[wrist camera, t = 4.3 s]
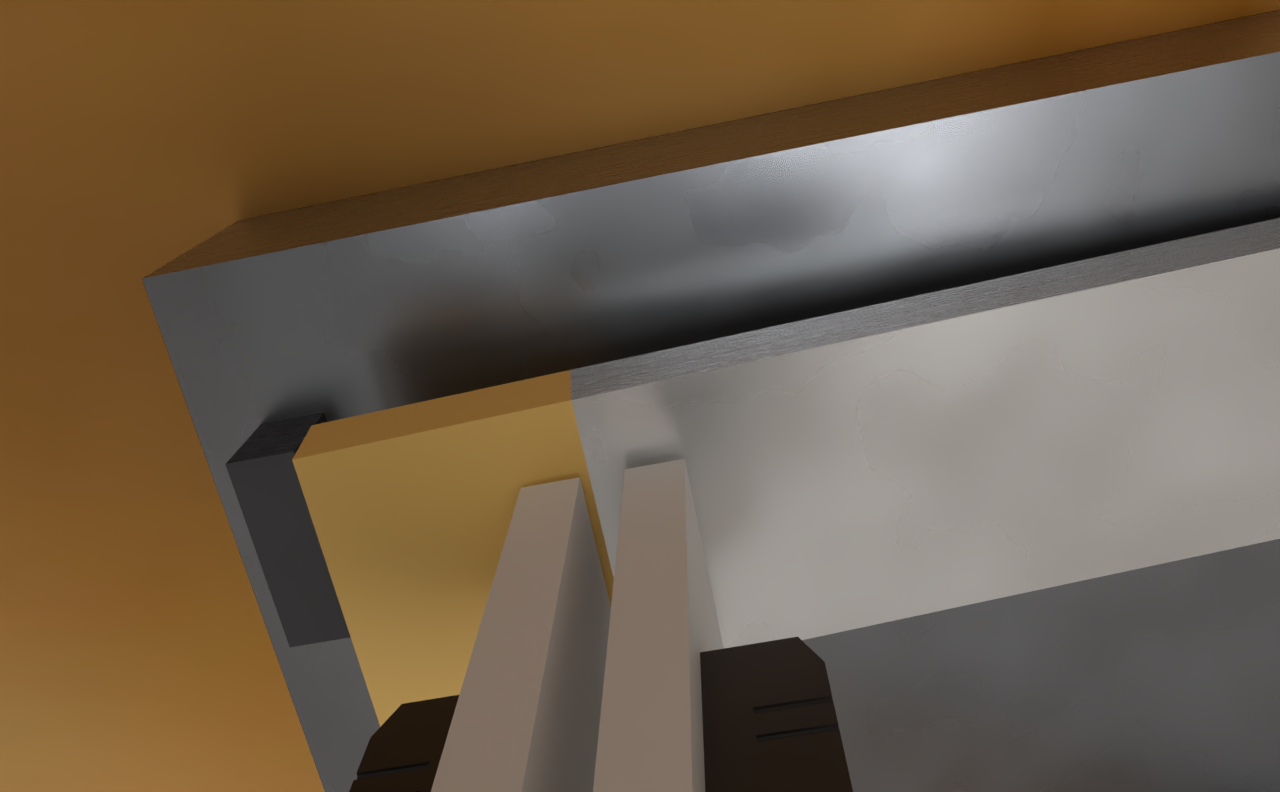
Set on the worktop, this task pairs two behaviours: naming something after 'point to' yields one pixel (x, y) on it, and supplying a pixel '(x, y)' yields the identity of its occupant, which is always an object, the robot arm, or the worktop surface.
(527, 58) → the worktop surface
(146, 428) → the worktop surface
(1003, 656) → the clamp block
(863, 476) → the strap
